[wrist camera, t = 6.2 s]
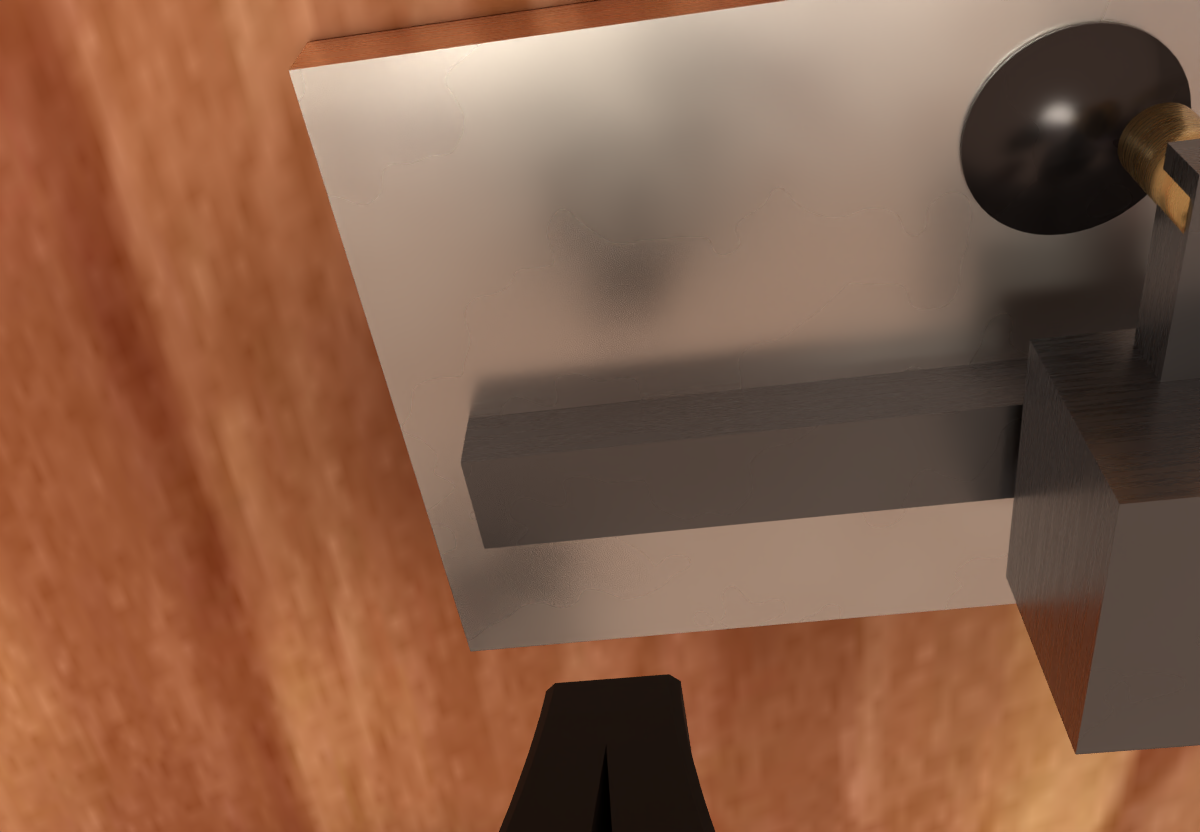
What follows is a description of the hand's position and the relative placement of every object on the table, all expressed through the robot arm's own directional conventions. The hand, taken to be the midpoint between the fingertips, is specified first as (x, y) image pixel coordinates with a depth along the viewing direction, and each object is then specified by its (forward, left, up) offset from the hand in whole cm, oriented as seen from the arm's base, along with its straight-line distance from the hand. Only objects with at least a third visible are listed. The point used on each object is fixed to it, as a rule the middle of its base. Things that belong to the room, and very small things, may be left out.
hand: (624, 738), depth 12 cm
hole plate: (-7, -1, -6) cm, 9 cm away
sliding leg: (-7, -1, -5) cm, 8 cm away
